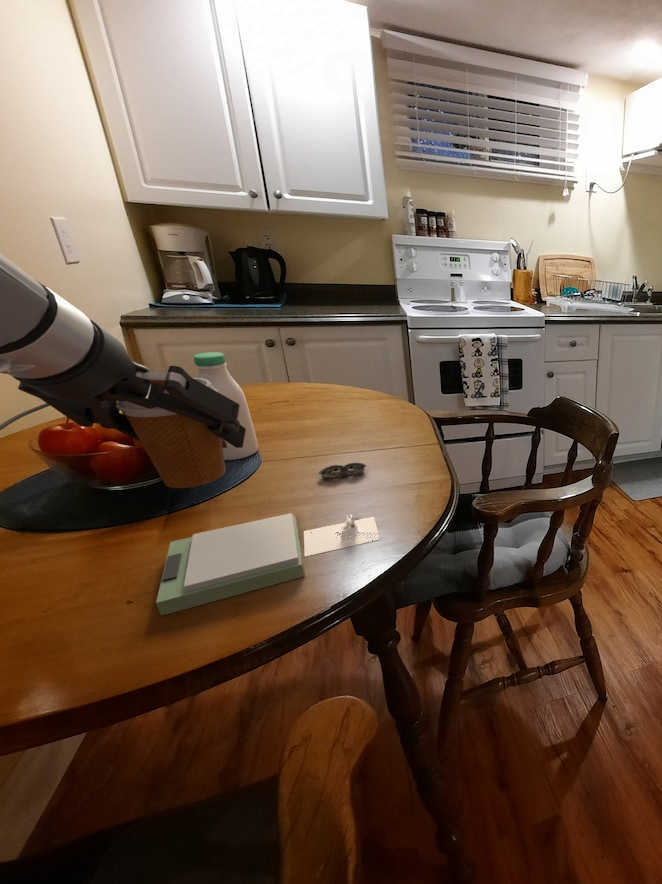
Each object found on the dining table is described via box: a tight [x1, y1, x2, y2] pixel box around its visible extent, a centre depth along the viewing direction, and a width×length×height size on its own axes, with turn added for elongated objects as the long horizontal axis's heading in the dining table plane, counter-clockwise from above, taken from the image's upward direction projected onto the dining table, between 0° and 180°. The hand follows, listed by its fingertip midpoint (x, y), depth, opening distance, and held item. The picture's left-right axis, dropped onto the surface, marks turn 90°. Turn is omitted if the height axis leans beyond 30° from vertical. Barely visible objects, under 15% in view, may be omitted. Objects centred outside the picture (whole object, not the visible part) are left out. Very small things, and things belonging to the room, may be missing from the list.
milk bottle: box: [192, 351, 259, 461], centre depth 94 cm, size 8×8×20 cm
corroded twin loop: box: [318, 462, 367, 481], centre depth 92 cm, size 5×8×1 cm, turn 116°
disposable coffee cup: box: [116, 377, 227, 489], centre depth 61 cm, size 10×10×12 cm
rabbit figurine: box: [340, 513, 359, 540], centre depth 75 cm, size 3×3×3 cm
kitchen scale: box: [155, 512, 306, 617], centre depth 67 cm, size 14×15×3 cm
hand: (201, 438), depth 64 cm, fingers closed on disposable coffee cup, 9 cm apart
